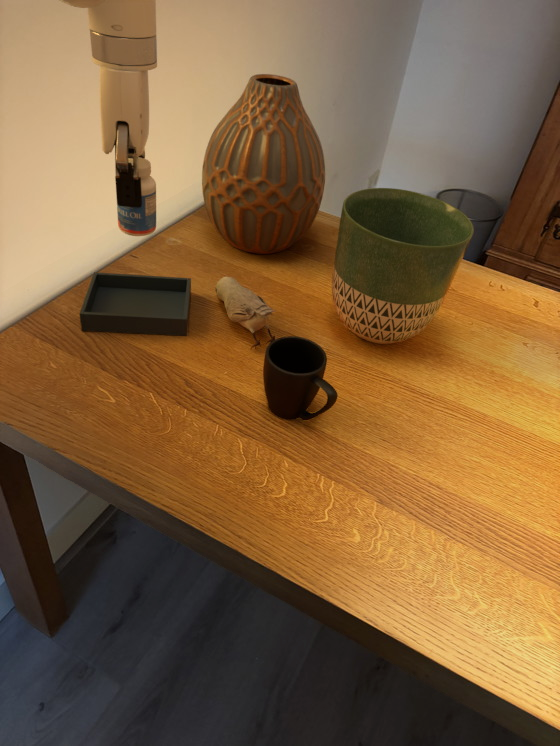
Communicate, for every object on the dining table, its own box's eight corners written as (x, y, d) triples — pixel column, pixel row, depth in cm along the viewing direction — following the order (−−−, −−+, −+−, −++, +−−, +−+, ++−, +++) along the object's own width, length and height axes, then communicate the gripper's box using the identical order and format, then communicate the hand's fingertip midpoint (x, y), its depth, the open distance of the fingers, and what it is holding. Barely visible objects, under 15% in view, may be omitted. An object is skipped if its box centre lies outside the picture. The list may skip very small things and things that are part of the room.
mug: (297, 454, 71) (308, 401, 65) (247, 398, 78) (253, 345, 72) (344, 431, 75) (359, 380, 69) (293, 380, 82) (302, 329, 76)
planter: (386, 292, 105) (417, 183, 91) (453, 352, 92) (502, 237, 78) (298, 310, 96) (318, 193, 83) (359, 378, 84) (395, 255, 70)
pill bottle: (110, 230, 78) (105, 162, 72) (131, 216, 82) (128, 151, 76) (143, 241, 77) (141, 173, 71) (163, 226, 81) (163, 161, 75)
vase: (325, 229, 122) (353, 80, 102) (295, 279, 104) (322, 109, 84) (226, 204, 126) (235, 55, 106) (180, 248, 108) (181, 79, 88)
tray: (81, 331, 85) (79, 313, 83) (95, 288, 94) (93, 272, 92) (186, 336, 87) (187, 319, 85) (190, 294, 96) (190, 278, 94)
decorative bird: (232, 296, 97) (235, 258, 92) (280, 347, 88) (286, 308, 83) (205, 302, 95) (207, 264, 90) (252, 355, 85) (256, 316, 80)
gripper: (104, 32, 70) (115, 171, 82) (76, 62, 58) (93, 221, 69) (163, 39, 71) (165, 175, 83) (148, 70, 59) (153, 226, 70)
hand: (132, 195), depth 76 cm, fingers closed on pill bottle, 5 cm apart
